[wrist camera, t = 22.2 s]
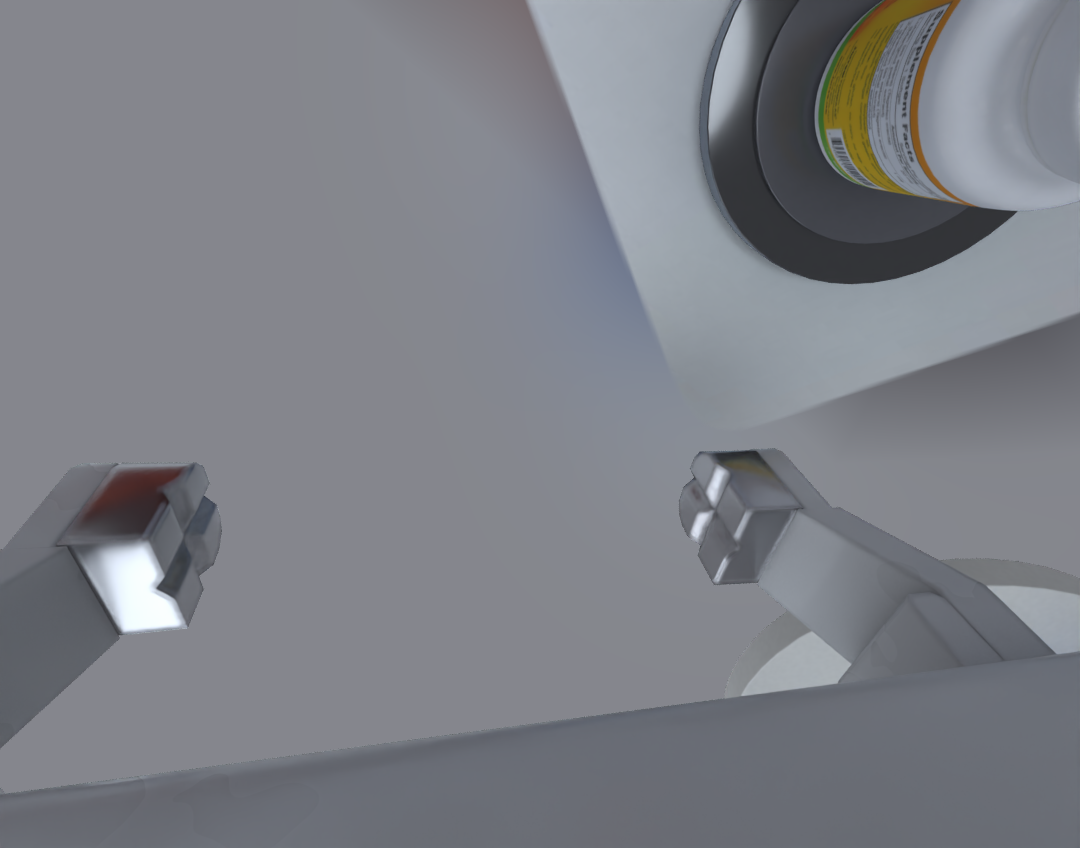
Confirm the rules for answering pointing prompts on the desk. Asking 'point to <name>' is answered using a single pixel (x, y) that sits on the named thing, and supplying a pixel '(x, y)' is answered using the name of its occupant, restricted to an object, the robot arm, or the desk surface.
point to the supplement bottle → (958, 102)
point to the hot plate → (809, 156)
